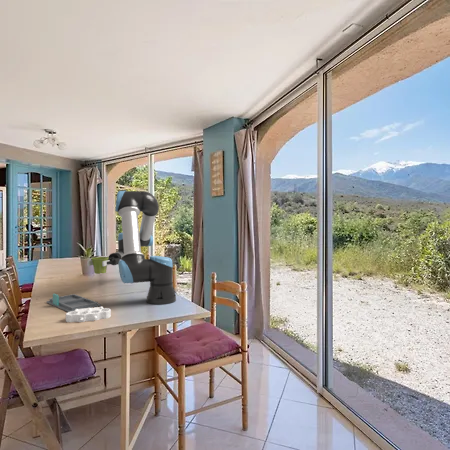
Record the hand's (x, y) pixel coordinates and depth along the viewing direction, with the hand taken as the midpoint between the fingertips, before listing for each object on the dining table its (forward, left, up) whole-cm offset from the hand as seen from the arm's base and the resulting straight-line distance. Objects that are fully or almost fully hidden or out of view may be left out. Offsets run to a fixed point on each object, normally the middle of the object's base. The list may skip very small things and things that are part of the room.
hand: (95, 263), depth 181 cm
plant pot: (+2, -4, -6) cm, 8 cm away
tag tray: (-9, +16, -18) cm, 26 cm away
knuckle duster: (-35, +21, -19) cm, 45 cm away
